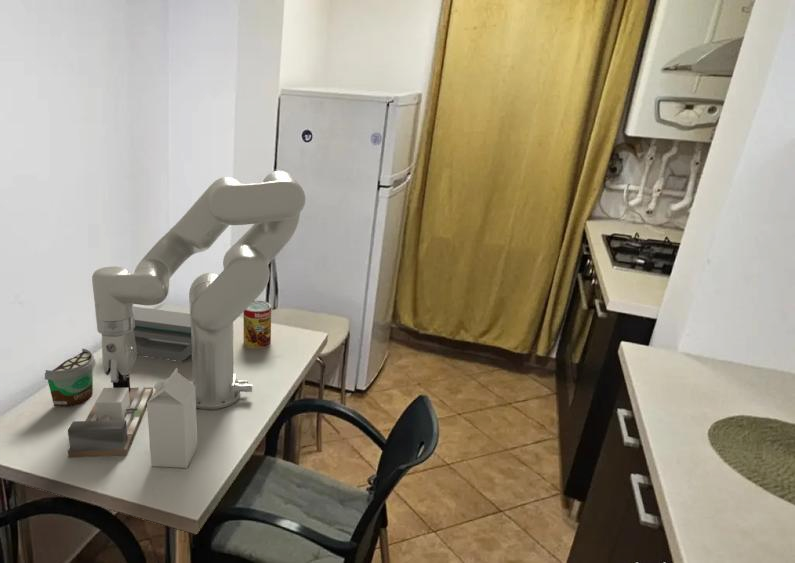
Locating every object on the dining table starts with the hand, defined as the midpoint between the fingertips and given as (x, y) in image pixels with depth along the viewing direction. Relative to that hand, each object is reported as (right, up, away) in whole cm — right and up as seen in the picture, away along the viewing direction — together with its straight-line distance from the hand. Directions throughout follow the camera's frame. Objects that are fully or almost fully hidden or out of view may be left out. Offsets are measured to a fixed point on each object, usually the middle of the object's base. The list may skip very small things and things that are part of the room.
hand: (122, 393), depth 130 cm
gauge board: (+1, -5, -5) cm, 7 cm away
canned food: (+22, +8, +37) cm, 43 cm away
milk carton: (+18, -10, -14) cm, 25 cm away
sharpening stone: (0, +6, +26) cm, 27 cm away
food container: (-11, -2, +2) cm, 11 cm away
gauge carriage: (+2, -3, -5) cm, 6 cm away
